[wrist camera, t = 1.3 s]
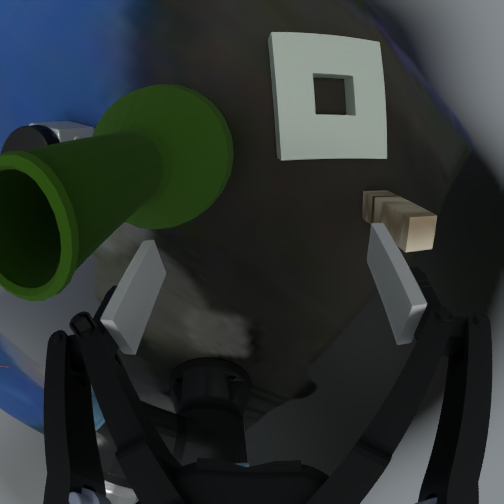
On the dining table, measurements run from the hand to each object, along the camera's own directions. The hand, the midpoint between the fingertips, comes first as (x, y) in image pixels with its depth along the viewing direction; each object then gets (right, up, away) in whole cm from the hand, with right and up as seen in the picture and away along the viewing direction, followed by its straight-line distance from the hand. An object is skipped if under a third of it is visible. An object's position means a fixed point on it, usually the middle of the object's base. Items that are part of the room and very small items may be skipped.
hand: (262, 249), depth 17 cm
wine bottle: (-8, +13, +17) cm, 23 cm away
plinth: (+9, +20, +15) cm, 26 cm away
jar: (-25, +14, +15) cm, 32 cm away
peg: (+17, +7, +22) cm, 28 cm away
